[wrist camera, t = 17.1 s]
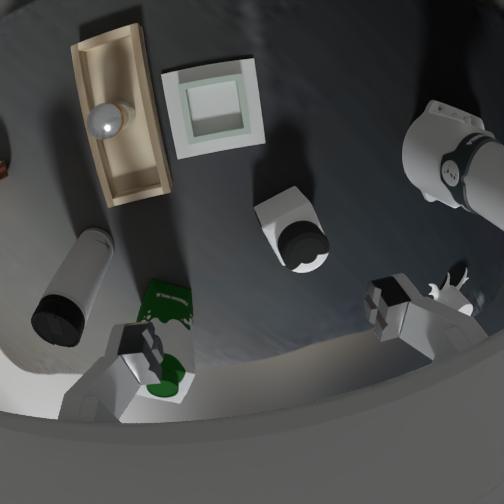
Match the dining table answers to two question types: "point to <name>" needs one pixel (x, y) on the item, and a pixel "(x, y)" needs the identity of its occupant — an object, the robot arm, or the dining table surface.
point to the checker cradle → (214, 107)
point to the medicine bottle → (293, 230)
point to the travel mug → (74, 289)
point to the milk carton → (170, 339)
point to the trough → (144, 126)
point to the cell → (110, 119)
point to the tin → (3, 170)
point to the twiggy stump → (452, 296)
